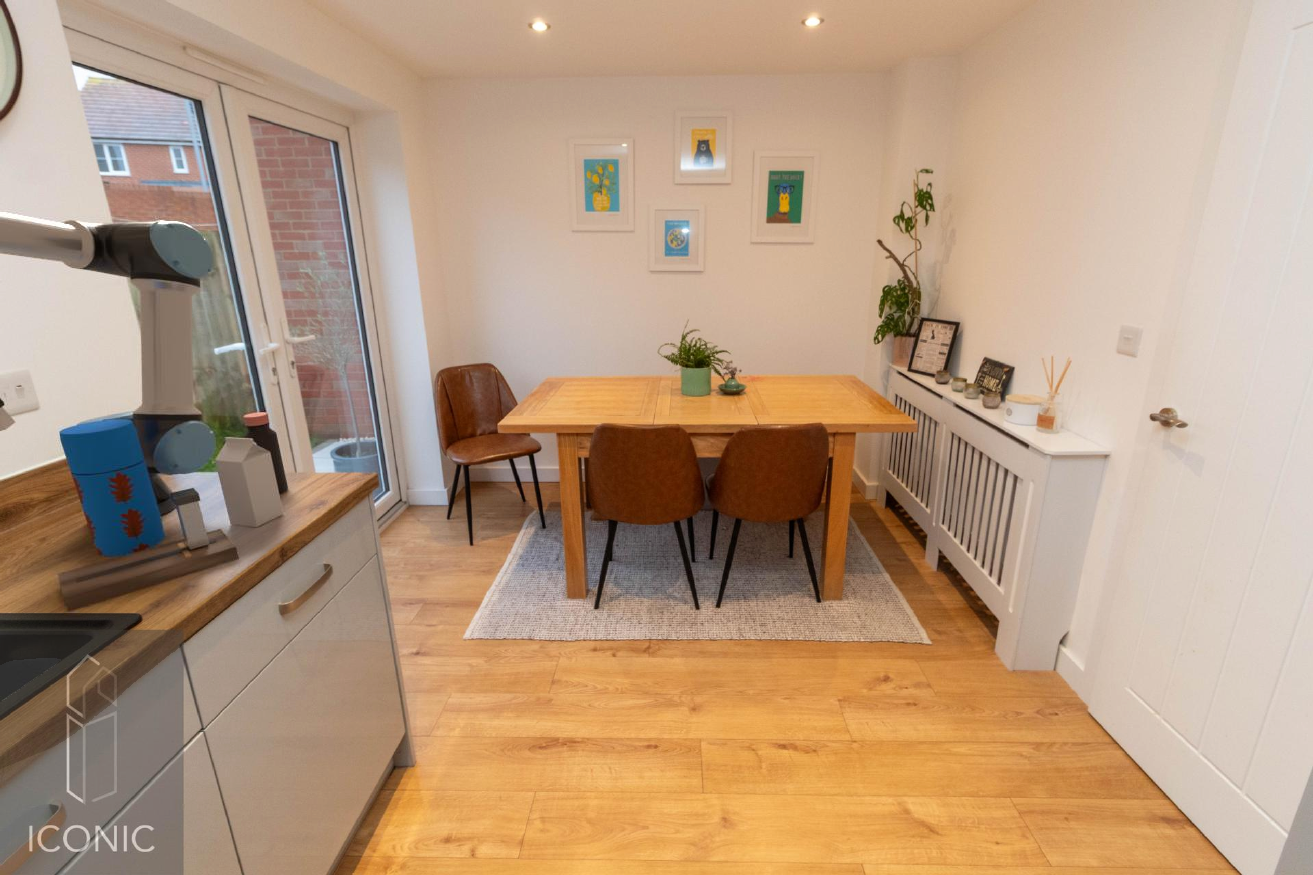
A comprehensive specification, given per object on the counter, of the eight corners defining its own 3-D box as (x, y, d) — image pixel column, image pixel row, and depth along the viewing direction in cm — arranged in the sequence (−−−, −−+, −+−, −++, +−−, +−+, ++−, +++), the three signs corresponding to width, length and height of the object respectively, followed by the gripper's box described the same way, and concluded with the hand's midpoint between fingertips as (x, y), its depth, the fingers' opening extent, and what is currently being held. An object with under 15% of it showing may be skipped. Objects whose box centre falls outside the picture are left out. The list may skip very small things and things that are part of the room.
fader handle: (183, 543, 114) (169, 493, 111) (206, 536, 116) (193, 487, 113) (188, 550, 111) (174, 499, 108) (211, 543, 113) (198, 493, 110)
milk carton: (257, 527, 127) (237, 443, 121) (230, 525, 128) (209, 442, 123) (284, 514, 134) (266, 434, 128) (258, 512, 135) (240, 432, 130)
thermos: (108, 561, 113) (68, 437, 106) (88, 548, 119) (49, 429, 111) (175, 539, 122) (142, 423, 115) (154, 528, 128) (121, 416, 120)
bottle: (277, 497, 143) (260, 418, 137) (249, 497, 143) (231, 418, 138) (294, 487, 150) (278, 411, 144) (267, 487, 150) (250, 411, 144)
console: (62, 586, 105) (57, 573, 104) (223, 539, 122) (220, 528, 121) (67, 611, 97) (63, 597, 96) (238, 558, 114) (235, 546, 113)
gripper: (-194, 310, 81) (-55, 449, 94) (-85, 286, 83) (36, 426, 96) (-148, 295, 87) (-24, 427, 100) (-48, 273, 90) (61, 406, 102)
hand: (5, 427), depth 98 cm, fingers closed
